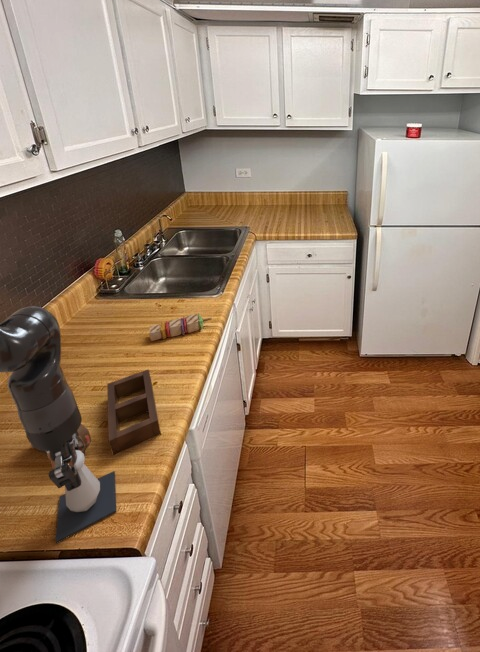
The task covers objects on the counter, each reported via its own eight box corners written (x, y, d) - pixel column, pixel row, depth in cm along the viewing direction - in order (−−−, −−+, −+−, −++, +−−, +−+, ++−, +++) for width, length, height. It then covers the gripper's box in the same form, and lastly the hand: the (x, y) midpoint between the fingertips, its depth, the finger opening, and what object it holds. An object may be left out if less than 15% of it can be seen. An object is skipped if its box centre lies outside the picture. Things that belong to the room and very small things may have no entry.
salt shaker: (88, 481, 72) (73, 440, 67) (109, 490, 70) (94, 448, 65) (62, 511, 66) (42, 468, 62) (83, 522, 65) (65, 478, 60)
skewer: (151, 345, 113) (148, 333, 111) (151, 333, 118) (148, 322, 116) (213, 329, 121) (212, 317, 119) (210, 319, 126) (209, 308, 125)
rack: (113, 455, 78) (108, 441, 76) (111, 397, 93) (107, 383, 91) (160, 434, 83) (157, 420, 81) (151, 382, 98) (148, 369, 96)
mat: (55, 543, 63) (55, 542, 62) (60, 498, 70) (59, 496, 70) (116, 512, 67) (115, 510, 67) (114, 472, 75) (114, 470, 74)
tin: (30, 450, 79) (19, 425, 76) (42, 437, 82) (32, 413, 79) (87, 459, 77) (78, 434, 74) (97, 446, 80) (88, 421, 77)
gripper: (30, 392, 63) (56, 454, 69) (14, 458, 51) (47, 524, 58) (77, 377, 66) (98, 436, 73) (73, 434, 55) (97, 499, 61)
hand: (75, 474), depth 65 cm, fingers closed on salt shaker, 4 cm apart
